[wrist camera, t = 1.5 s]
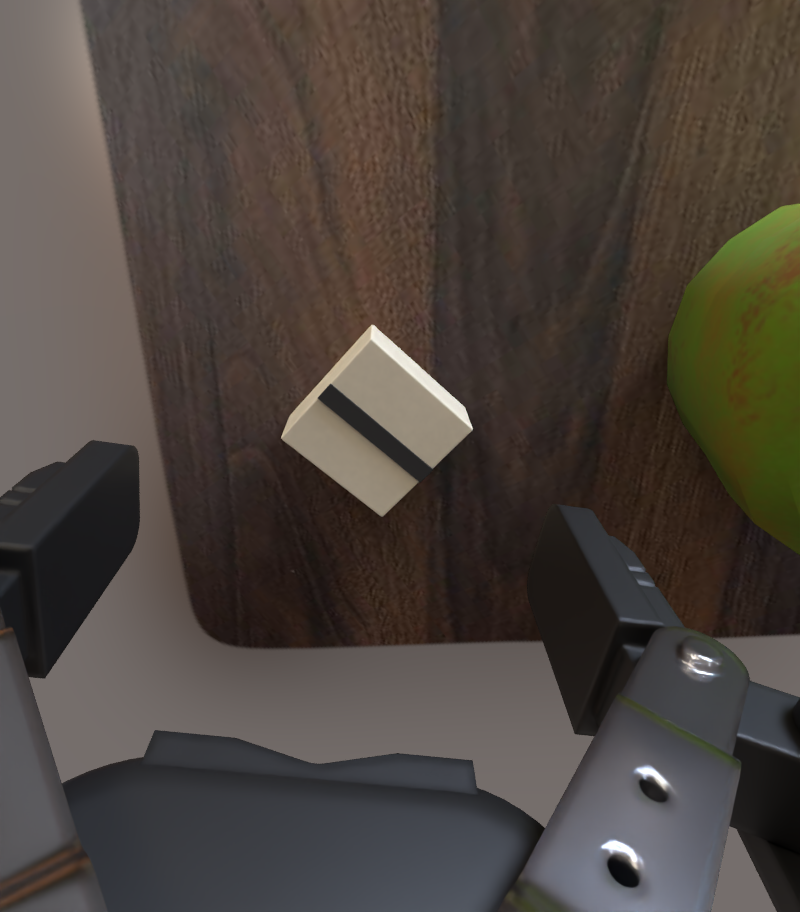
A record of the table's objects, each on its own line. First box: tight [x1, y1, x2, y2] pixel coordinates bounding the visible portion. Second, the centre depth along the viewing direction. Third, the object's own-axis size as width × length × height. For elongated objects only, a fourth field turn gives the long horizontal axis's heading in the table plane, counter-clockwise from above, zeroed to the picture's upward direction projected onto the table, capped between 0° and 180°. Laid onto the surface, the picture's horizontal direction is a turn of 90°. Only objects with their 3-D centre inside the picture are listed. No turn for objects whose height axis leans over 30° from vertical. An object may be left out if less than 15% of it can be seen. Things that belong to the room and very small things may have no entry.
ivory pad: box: [281, 325, 473, 517], centre depth 26 cm, size 6×6×3 cm
